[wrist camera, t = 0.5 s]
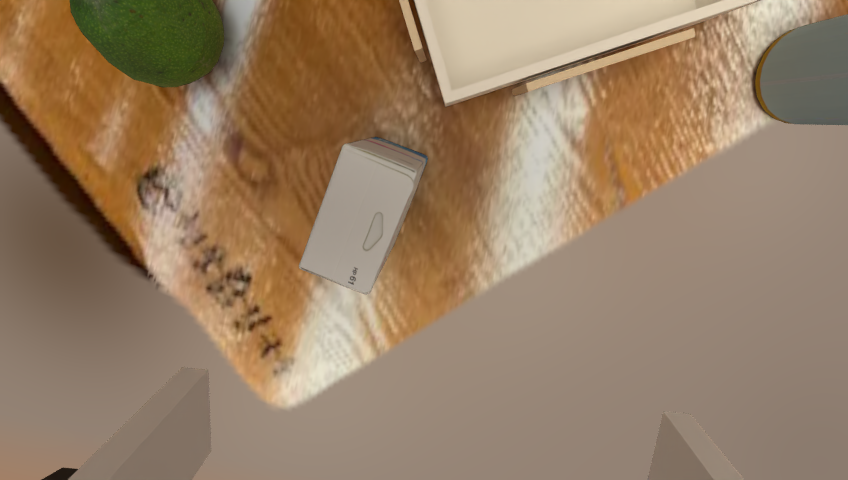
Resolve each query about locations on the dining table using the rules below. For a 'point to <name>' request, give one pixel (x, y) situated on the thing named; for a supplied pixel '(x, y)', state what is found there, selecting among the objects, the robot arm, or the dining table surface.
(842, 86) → the bottle
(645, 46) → the carton
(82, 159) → the dining table surface
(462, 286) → the dining table surface
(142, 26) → the fruit
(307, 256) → the ink box
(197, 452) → the robot arm
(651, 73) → the dining table surface
